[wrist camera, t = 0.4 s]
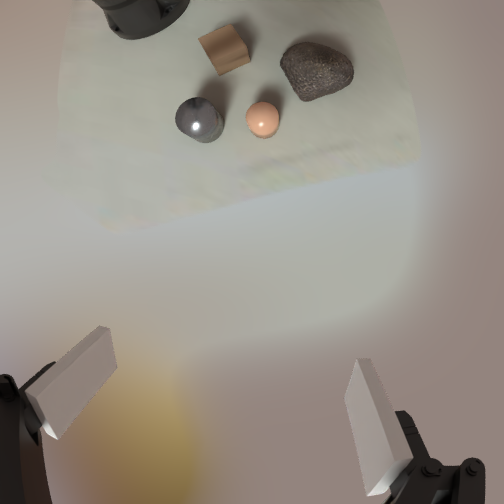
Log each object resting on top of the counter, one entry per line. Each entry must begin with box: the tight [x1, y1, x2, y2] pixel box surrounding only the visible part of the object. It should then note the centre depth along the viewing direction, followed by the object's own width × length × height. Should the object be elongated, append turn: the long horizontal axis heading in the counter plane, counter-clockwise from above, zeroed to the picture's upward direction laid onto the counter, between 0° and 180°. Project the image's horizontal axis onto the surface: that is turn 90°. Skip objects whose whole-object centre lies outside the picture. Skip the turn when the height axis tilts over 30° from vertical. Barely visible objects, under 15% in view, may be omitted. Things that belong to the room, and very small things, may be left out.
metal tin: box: [175, 97, 224, 143], centre depth 33 cm, size 5×5×6 cm
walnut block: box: [198, 24, 250, 76], centre depth 31 cm, size 5×5×5 cm
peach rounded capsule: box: [246, 102, 279, 139], centre depth 33 cm, size 4×4×4 cm
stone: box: [280, 42, 354, 102], centre depth 31 cm, size 10×8×10 cm
